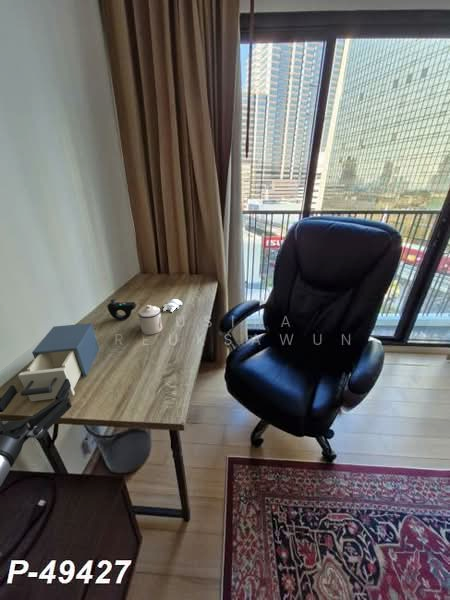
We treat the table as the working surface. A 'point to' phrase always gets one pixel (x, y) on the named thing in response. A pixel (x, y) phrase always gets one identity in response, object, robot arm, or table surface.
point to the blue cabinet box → (71, 343)
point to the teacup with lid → (150, 319)
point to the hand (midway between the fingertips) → (41, 385)
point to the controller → (116, 306)
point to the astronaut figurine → (172, 305)
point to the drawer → (50, 375)
